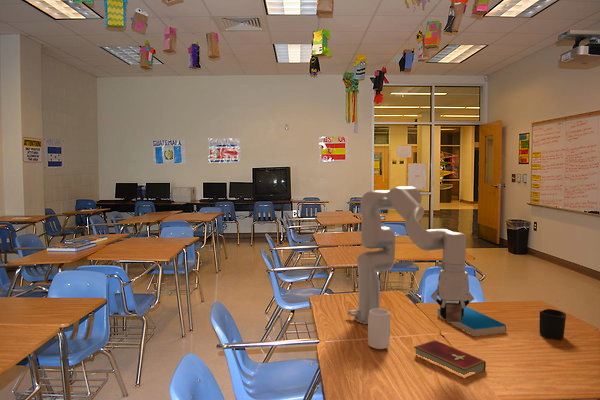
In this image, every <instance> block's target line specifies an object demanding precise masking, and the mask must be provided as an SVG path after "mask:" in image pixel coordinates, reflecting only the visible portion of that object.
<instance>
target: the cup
mask: <svg viewBox="0 0 600 400" xmlns="http://www.w3.org/2000/svg"><path fill="white" fill-rule="evenodd" d="M390 336H391V313H390V311H389V310H388V309H385V308H382V307H381V308H380V307H379V308H374V309H371V310H370V311H369V316H368V325H367V341H368V342H367V343H368V346H369V347H371V348H374V349H378V350H383V349H388V348H389V346H390Z"/></svg>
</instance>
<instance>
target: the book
mask: <svg viewBox="0 0 600 400" xmlns="http://www.w3.org/2000/svg"><path fill="white" fill-rule="evenodd" d="M436 311H437V317H438V318H440V319H441V318H442V316H441V315H440V308H438V309H436ZM441 320H443V318H442V319H441ZM443 321H445V319H444V320H443ZM450 323H451V324H450ZM448 324H450V325H452V324H453V325H452V326H455V327H456V328H457V327H458V328H457V329H459V328H460V329H459V330H461V329H462V330H461V331H463V330H464V331H463V332H465V331H466V332H468V333H470V334H471V335H470V334H469V335H470V336H472V335H473V336H472V337H474V336H475V337H480V335H483V336H489V334H491V335H498V334H497V333H499V334H506V332H507V325H506V324H505V323H503V322H501V321H498V320H496V319H495V318H492V317H490V316H488V315H486V314H483V313H482V312H480V311H477V310H475V309H472V308H470V307H468V305H467V306H466V307H465V308H464V316H462V320H461V322H448ZM466 332H465V333H466ZM468 333H467V334H468Z"/></svg>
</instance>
